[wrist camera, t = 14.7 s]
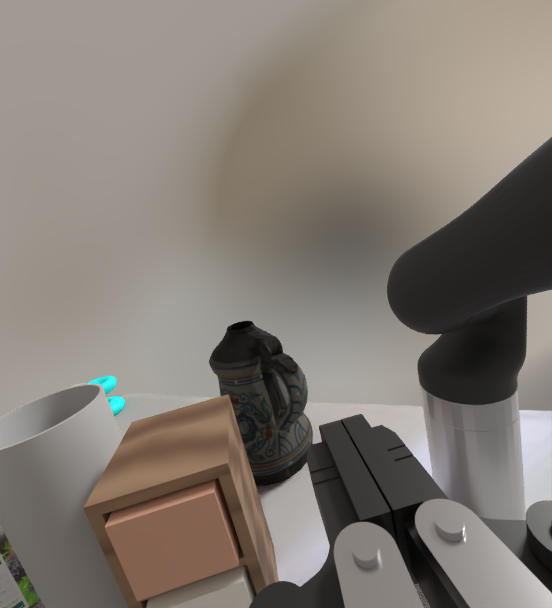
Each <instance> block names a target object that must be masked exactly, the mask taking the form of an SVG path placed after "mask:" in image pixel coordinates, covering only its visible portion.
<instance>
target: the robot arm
mask: <svg viewBox="0 0 552 608" xmlns="http://www.w3.org/2000/svg"><path fill="white" fill-rule="evenodd" d="M547 290H552V137H551V138H550V139H549V140H548V141H546V142H545V143H544V144H543V145H542V146H540V147H539V148H538V149H537V150H536V151H534V152H533V153H532V154H531V155H530V156H529V157H527V158H526V159H525V160H524V161H523V162H522V163H520V164H519V165H518V166H517V167H516V168H515V169H514V170H513V171H511V172H510V173H509V174H508V175H507V176H506V177H505V178H503V179H502V180H501V181H500V182H499V183H498V184H497V185H495V187H493V188H492V189H491V190H490V191H489V192H488V193H487V194H485V195H484V196H483V197H482V198H481V199H480V200H479V201H477V202H476V203H475V204H474V205H473V206H471V207H470V208H469V209H468V210H466V211H465V212H464V213H462V214H461V215H460V216H459V217H457V218H456V219H454V220H453V221H451V222H450V223H449V224H447V225H446V226H444V227H443V228H441V229H440V230H438V231H437V232H435V233H434V234H432V235H431V236H429V237H427V238H426V239H425V240H423V241H421V242H420V243H418V244H417V245H415V246H413V247H412V248H410V249H409V250H407V251H406V252H405V253H403V254H402V255H401V256H400V257H399V259H398V260H397V261H396V262H395V264H394V266H393V268H392V270H391V272H390V275H389V279H388V285H387V294H388V300H389V304H390V307H391V309H392V311H393V313H394V314H395V315H396V317H397V318H398V319H399V320H400V321H401V322H402V323H403V324H404V325H406V326H407V327H409V328H410V329H413V330H415V331H417V332H421V333H425V334H442V335H441V336H440V337H439V338H438V340H436V342H434V343H433V344H432V345H431V346H430V347H429V348H427V349H426V350H425V351H424V352H423V353H422V354H421V356H420V358H419V360H418V375H419V382H420V389H421V396H422V403H423V409H424V417H425V424H426V431H427V438H428V445H429V453H430V460H431V467H432V475H433V479H432V477H431V476H430V475H429V474H428V472H427V471H426V470H425V469H424V468H423V466H422V465H421V464H420V463H419V461H418V460H417V459H416V458H415V457H414V456H413V454H412V453H411V452H410V450H409V449H408V448H407V447H406V446H405V444H404V443H403V442H402V440H401V439H400V438H399V437H398V435H397V434H396V433H395V432H393V431H391V430H390V429H388V428H386V427H384V426H383V425H380V426H376V427H373V428H371V426H370V425H369V423H368V422H367V421H366V419H365V418H364V416H363V415H362V414H359V415H355V416H352V417H348V418H345V419H341V420H338V421H334V422H331V423H327V424H324V425H320V426H319V430H320V434H321V439H322V442H321V443H317V444H313V445H310V446H309V449H308V454H307V458H306V459H307V463H308V467H309V471H310V475H311V480H312V484H313V488H314V492H315V496H316V499H317V503H318V506H319V510H320V513H321V517H322V520H323V524H324V527H325V530H326V534H327V537H328V541H329V544H330V549H329V554H328V557H327V559H326V562H325V564H324V565H323V567H322V568H321V569H320V571H319V572H318V573H317V574H316V575H315V576H314V577H312V578H311V579H310V580H309V581H307V582H306V583H305V584H304V585H302V586H301V587H299V586H297V585H296V584H294V583H291V582H286V581H279V582H275V583H272V584H270V585H268V586H266V587H265V588H264V589H262V590H261V591H260V592H259V593H258V594H257V595H256V597H255V598H254V599H253V601H252V603H251V604H250V606H249V608H424V607H423V604H422V602H421V600H420V597H419V595H418V593H417V590H416V588H415V586H414V584H417V583H418V584H419V586H420V588H421V590H422V592H423V594H424V595H425V597H426V599H427V602H428V608H552V501H540V502H537V503H534V504H533V505H531V506H530V507H529V508H528V510H527V513H526V514H525V498H524V479H523V463H522V448H521V432H520V416H519V403H518V388H517V376H518V373H519V371H520V369H521V367H522V366H523V363H524V360H525V356H526V336H527V295H530V294H535V293H538V292H543V291H547Z"/></svg>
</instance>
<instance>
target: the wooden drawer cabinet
mask: <svg viewBox="0 0 552 608" xmlns="http://www.w3.org/2000/svg"><path fill="white" fill-rule="evenodd" d="M215 478H219V481H220V484H221V487H222V490H223V493H224V496H225V499H226V502H227V505H228V508H229V511H230V515H231V518H232V521H233V524H234V527H235V530H236V533H237V536H238V555H239V566H237V567H234V568H231V569H228V570H226V571H223V572H220V573H217V574H214V575H211V576H208V577H206V578H203V579H200V580H197V581H194V582H191V583H188V584H186V585H183V586H180V587H177V588H174V589H171V590H168V591H166V592H163V593H160V594H157V595H154V596H151V597H148V598H146V599H143V600H140V601H137V599H136V597H135V595H134V592H133V590H132V588H131V586H130V583H129V581H128V579H127V577H126V574H125V572H124V570H123V568H122V565H121V563H120V561H119V559H118V556H117V554H116V552H115V550H114V547H113V545H112V543H111V541H110V538H109V536H108V534H107V532H106V529H105V525H106V523H107V521H108V519H109V517H110V514H111V512H112V511H115V510H118V509H121V508H124V507H127V506H130V505H133V504H137V503H140V502H143V501H146V500H149V499H152V498H156V497H159V496H162V495H165V494H168V493H171V492H174V491H178V490H181V489H184V488H187V487H190V486H193V485H196V484H200V483H203V482H206V481H209V480H212V479H215ZM83 509H84V511H85V513H86V515H87V518H88V520H89V522H90V524H91V526H92V529H93V531H94V533H95V535H96V537H97V539H98V542H99V544H100V546H101V548H102V550H103V553H104V555H105V557H106V559H107V561H108V564H109V566H110V568H111V570H112V572H113V575H114V577H115V579H116V581H117V583H118V586H119V588H120V590H121V592H122V594H123V597H124V599H125V601H126V603H127V605H128V608H146V607H147V602H148V599H150V598H153V597H156V596H159V595H162V594H165V593H167V592H170V591H173V590H176V589H179V588H182V587H185V586H187V585H190V584H193V583H196V582H199V581H202V580H205V579H207V578H210V577H213V576H216V575H219V574H222V573H224V572H227V571H230V570H233V569H236V568H239V567H242V566H244V565H247V567H248V570H249V573H250V576H251V579H252V582H253V585H254V588H255V591H256V594H258V593H259V592H260V591H261V590H262V589H264V588H265V587H266V586H268V585H270V584H272V583H275V582H278V575H277V568H276V561H275V554H274V547H273V542H272V539H271V535H270V532H269V529H268V525H267V522H266V518H265V515H264V512H263V508H262V505H261V502H260V498H259V495H258V491H257V488H256V485H255V481H254V478H253V475H252V471H251V468H250V464H249V461H248V458H247V454H246V451H245V448H244V444H243V441H242V437H241V434H240V431H239V427H238V424H237V421H236V417H235V414H234V410H233V407H232V404H231V400H230V397H229V394H228V395H224V396H221V397H217V398H214V399H211V400H207V401H204V402H200V403H197V404H193V405H190V406H186V407H183V408H179V409H176V410H173V411H169V412H166V413H162V414H159V415H155V416H152V417H148V418H145V419H142V420H138V421H135V422H132V423H131V425H130V427H129V428H128V430H127V432H126V434H125V435H124V437H123V439H122V441H121V443H120V444H119V446H118V448H117V450H116V451H115V453H114V455H113V457H112V458H111V460H110V462H109V464H108V465H107V467H106V469H105V471H104V472H103V474H102V476H101V478H100V479H99V481H98V483H97V485H96V486H95V488H94V490H93V492H92V493H91V495H90V497H89V499H88V500H87V502H86V504H85V506H84V507H83Z"/></svg>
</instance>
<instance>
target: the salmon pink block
mask: <svg viewBox="0 0 552 608" xmlns="http://www.w3.org/2000/svg"><path fill="white" fill-rule="evenodd" d="M105 529H106V532H107V534H108V536H109V538H110V541H111V543H112V545H113V547H114V550H115V552H116V554H117V556H118V559H119V561H120V563H121V565H122V568H123V570H124V572H125V574H126V577H127V579H128V581H129V583H130V586H131V588H132V590H133V592H134V595H135V597H136V599H137V601H140V600H143V599H146V598H148V597H151V596H154V595H157V594H160V593H163V592H166V591H168V590H171V589H174V588H177V587H180V586H183V585H186V584H188V583H191V582H194V581H197V580H200V579H203V578H206V577H208V576H211V575H214V574H217V573H220V572H223V571H226V570H228V569H231V568H234V567H237V566H239V555H238V536H237V533H236V530H235V527H234V524H233V521H232V518H231V515H230V511H229V508H228V505H227V502H226V499H225V496H224V493H223V490H222V487H221V484H220V481H219V478H215V479H212V480H209V481H206V482H203V483H200V484H196V485H193V486H190V487H187V488H184V489H181V490H178V491H174V492H171V493H168V494H165V495H162V496H159V497H156V498H152V499H149V500H146V501H143V502H140V503H137V504H133V505H130V506H127V507H124V508H121V509H118V510H115V511H112V512H111V514H110V517H109V519H108V521H107V523H106V525H105Z"/></svg>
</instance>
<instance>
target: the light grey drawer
mask: <svg viewBox="0 0 552 608" xmlns="http://www.w3.org/2000/svg"><path fill="white" fill-rule="evenodd" d="M256 595H257V594H256V591H255V588H254V585H253V582H252V579H251V576H250V573H249V570H248V567H247V565H244V566H242V567H239V568H236V569H233V570H230V571H227V572H224V573H222V574H219V575H216V576H213V577H210V578H207V579H205V580H202V581H199V582H196V583H193V584H190V585H187V586H185V587H182V588H179V589H176V590H173V591H170V592H167V593H165V594H162V595H159V596H156V597H153V598H150V599H148V602H147V607H146V608H249V606H250V604H251V603H252V601H253V599H254V598H255V597H256Z"/></svg>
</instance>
